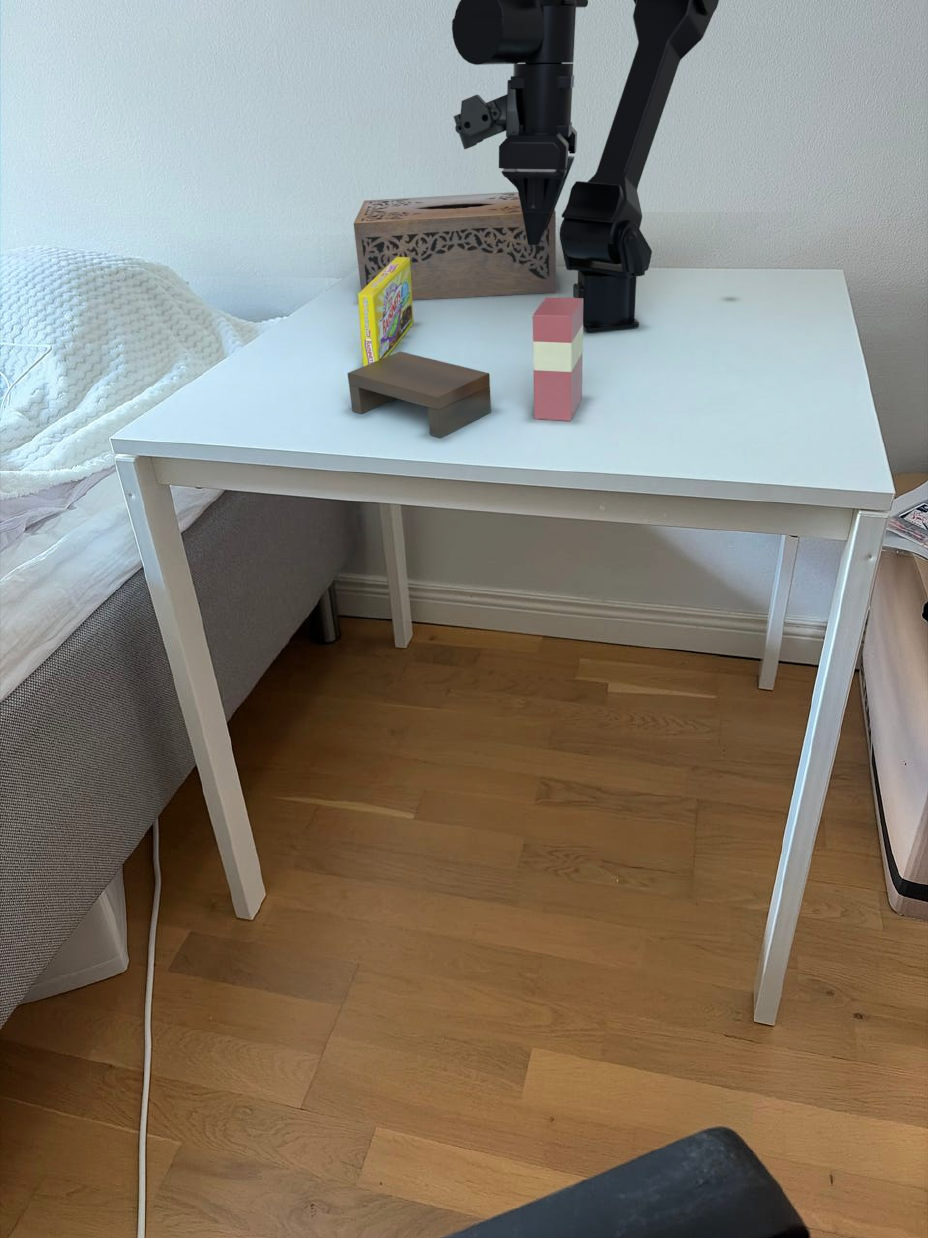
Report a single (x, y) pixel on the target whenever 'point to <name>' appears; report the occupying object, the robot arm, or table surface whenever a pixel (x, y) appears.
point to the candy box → (385, 310)
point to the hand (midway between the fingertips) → (537, 237)
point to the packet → (557, 358)
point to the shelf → (423, 389)
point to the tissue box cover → (456, 245)
